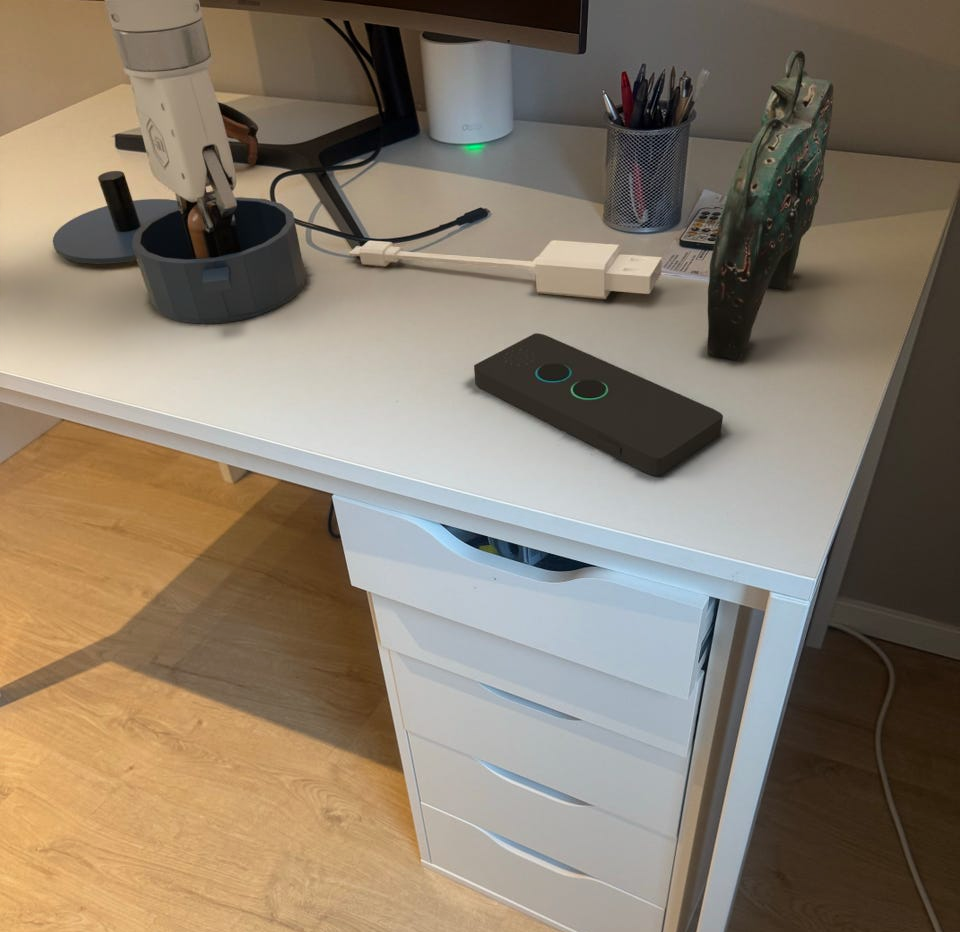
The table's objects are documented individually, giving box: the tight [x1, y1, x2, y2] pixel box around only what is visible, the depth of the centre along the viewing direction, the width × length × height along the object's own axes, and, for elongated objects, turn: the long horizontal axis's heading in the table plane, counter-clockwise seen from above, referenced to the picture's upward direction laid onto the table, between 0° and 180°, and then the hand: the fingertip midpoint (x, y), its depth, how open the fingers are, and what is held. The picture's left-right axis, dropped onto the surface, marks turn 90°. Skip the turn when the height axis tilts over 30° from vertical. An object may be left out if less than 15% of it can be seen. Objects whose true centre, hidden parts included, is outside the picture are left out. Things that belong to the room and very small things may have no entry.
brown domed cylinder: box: [188, 202, 215, 259], centre depth 89 cm, size 4×4×7 cm
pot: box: [132, 196, 306, 325], centre depth 90 cm, size 16×21×6 cm
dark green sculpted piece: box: [706, 49, 834, 361], centre depth 75 cm, size 20×6×20 cm, turn 152°
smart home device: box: [473, 332, 724, 477], centre depth 72 cm, size 8×2×20 cm
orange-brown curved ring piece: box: [218, 101, 260, 166], centre depth 116 cm, size 12×10×8 cm
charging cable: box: [348, 239, 663, 300], centre depth 89 cm, size 5×32×3 cm, turn 67°
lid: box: [52, 170, 178, 265], centre depth 100 cm, size 17×17×7 cm
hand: (217, 258), depth 90 cm, fingers closed on brown domed cylinder, 4 cm apart
